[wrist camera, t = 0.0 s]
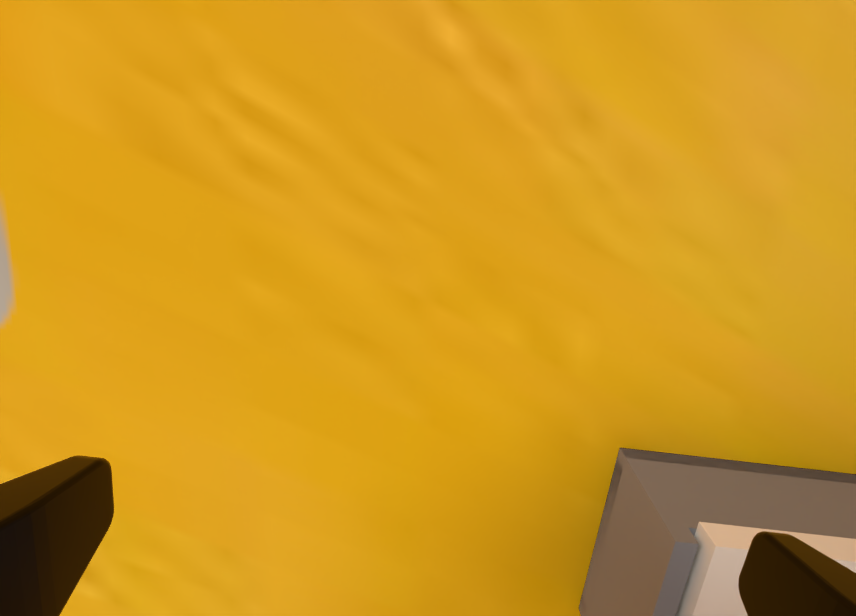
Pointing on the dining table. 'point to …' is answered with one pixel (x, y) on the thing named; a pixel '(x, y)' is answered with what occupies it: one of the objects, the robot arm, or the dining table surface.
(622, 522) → the grey open box
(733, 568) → the lid
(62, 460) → the robot arm
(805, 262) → the dining table surface
